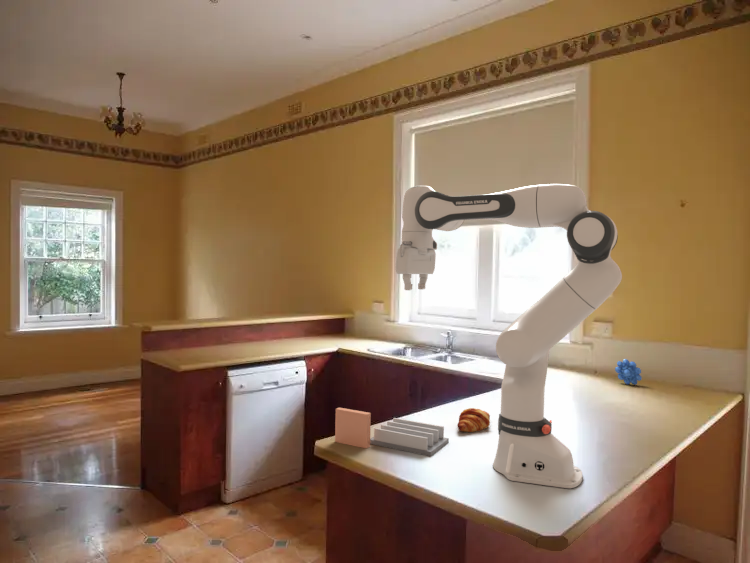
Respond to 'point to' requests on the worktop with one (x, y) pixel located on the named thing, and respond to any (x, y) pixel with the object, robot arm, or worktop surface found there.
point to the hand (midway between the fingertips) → (415, 289)
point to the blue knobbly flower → (628, 372)
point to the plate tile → (352, 427)
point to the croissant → (473, 420)
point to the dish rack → (410, 436)
